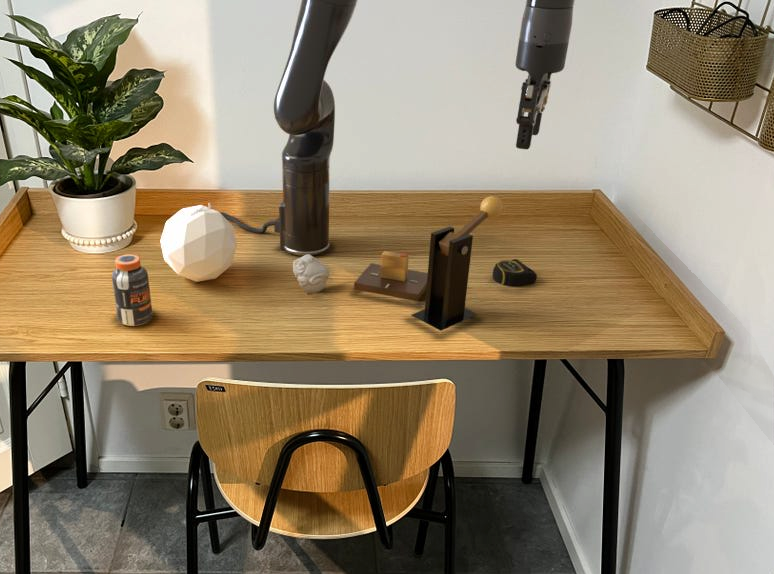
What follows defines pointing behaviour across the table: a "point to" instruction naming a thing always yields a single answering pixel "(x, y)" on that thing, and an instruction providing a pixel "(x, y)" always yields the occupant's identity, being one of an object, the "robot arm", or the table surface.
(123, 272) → the pill bottle
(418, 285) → the lock plate
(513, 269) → the tape measure
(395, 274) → the tan wooden block
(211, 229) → the geodesic sphere
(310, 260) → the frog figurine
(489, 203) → the latch lever
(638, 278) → the table surface
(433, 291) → the bracket
